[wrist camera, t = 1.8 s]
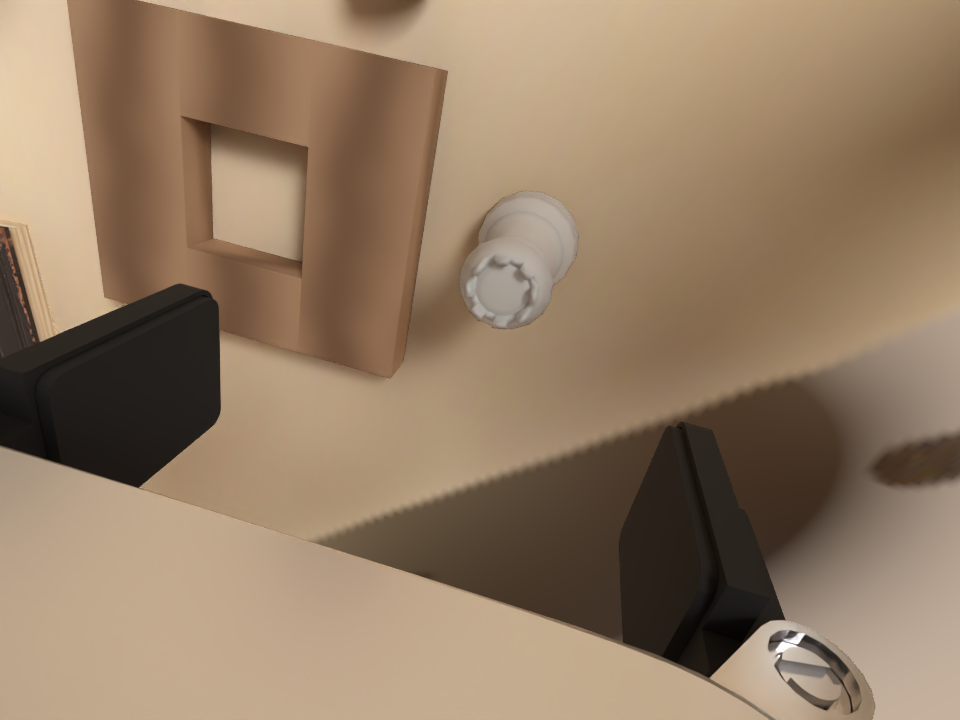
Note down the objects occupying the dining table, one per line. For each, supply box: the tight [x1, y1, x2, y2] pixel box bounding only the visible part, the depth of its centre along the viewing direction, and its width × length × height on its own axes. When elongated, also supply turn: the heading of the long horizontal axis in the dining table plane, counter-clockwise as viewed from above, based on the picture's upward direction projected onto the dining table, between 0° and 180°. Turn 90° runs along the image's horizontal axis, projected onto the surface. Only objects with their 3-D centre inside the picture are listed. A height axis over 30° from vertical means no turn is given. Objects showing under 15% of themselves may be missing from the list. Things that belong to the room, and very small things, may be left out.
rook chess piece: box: [460, 191, 578, 329], centre depth 22 cm, size 4×4×8 cm
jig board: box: [67, 0, 448, 378], centre depth 26 cm, size 16×14×2 cm
